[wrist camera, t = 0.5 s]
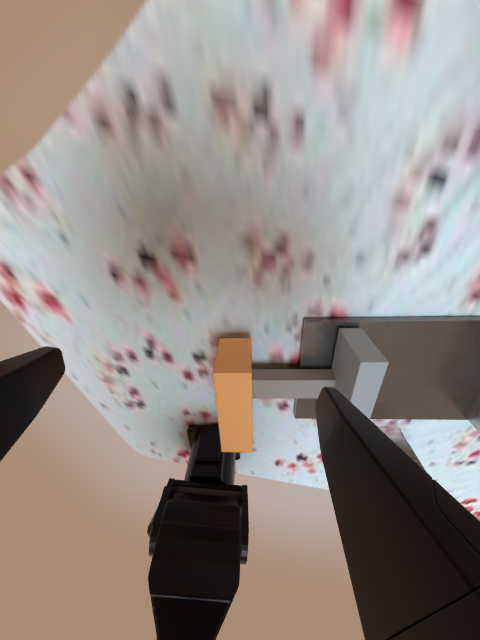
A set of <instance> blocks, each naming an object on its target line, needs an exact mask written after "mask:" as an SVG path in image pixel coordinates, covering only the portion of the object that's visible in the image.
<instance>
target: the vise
mask: <svg viewBox="0 0 480 640" xmlns="http://www.w3.org/2000/svg"><path fill="white" fill-rule="evenodd" d="M339 328H362V329H363V330H364V332H365V333H366V334H367V335H368V337H369V338H370V339H371V340H372V342H373V343H374V344H375V346H376V347H377V348H378V349H379V351H380V352H381V353H382V354H383V356H384V357H385V358H386V359H387V361H388V362H389V364H388V367H387V369H386V372H385V375H384V378H383V381H382V384H381V387H380V390H379V393H378V396H377V399H376V402H375V405H374V408H373V411H372V414H371V417H370V419H444V420H468V421H469V422H470V423H471V424H472V425H473V426H474V427H475V428H476V429H477V430H478V431H479V432H480V316H434V317H347V318H304V322H303V331H302V341H301V350H300V359H299V368H298V369H331V368H332V362H333V357H334V352H335V347H336V342H337V337H338V331H339ZM317 399H318V398H295V405H294V417H295V418H316V411H315V405H316V401H317Z"/></svg>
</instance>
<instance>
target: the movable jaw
mask: <svg viewBox="0 0 480 640" xmlns="http://www.w3.org/2000/svg"><path fill="white" fill-rule="evenodd" d="M388 364H389V362H388V361H387V359H386V358H385V357H384V356H383V354H382V353H381V352H380V351H379V349H378V348H377V347H376V346H375V344H374V343H373V342H372V340H371V339H370V338H369V337H368V335H367V334H366V333H365V332H364V330H363V329H362V328H339V331H338V337H337V342H336V347H335V352H334V357H333V362H332V368H331V369H252V356H251V338H220V340H219V345H218V350H217V355H216V360H215V365H214V370H213V379H214V388H215V397H216V406H217V414H218V423H219V432H220V441H221V450H222V452H253V444H252V398H318V397H319V394H320V392H321V390H322V388H323V387H325V386H327V387H333V388H336V389H337V390H338V391H340V392H341V393H342V394H343V395H344V396H345V397H346V398H347V399H348V400H349V401H350V402H351V403H352V404H354V405H355V406H356V407H357V408H358V409H359V410H360V411H361V412H362V413H363V414H364V415H365V416H366V417H367V418H369V419H370V417H371V414H372V411H373V408H374V405H375V402H376V399H377V396H378V393H379V390H380V387H381V384H382V381H383V378H384V375H385V372H386V369H387V367H388Z"/></svg>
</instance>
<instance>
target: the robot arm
mask: <svg viewBox="0 0 480 640" xmlns="http://www.w3.org/2000/svg"><path fill="white" fill-rule="evenodd" d="M64 372H65V364H64V360H63V356H62V352H61V350H60V349H59V348H55V347H47V346H46V347H42V348H39V349H36V350H33V351H30V352H27V353H24V354H22V355H18V356H15V357H13V358H10V359H7V360H3V361H1V362H0V461H1V460H2V459H3V458H4V456H5V455H6V454H7V452H8V451H9V450H10V449H11V447H12V446H13V445H14V444H15V442H16V441H17V440H18V439H19V437H20V436H21V434H23V432H24V431H25V430H26V429H27V427H28V426H29V425H30V423H31V422H32V421H33V420H34V418H35V417H36V416H37V414H38V413H39V411H40V410H41V408H42V407H43V405H44V404H45V402H46V401H47V399H48V398H49V396H50V394H51V393H52V391H53V390H54V388H55V387H56V385H57V384H58V382H59V381H60V379H61V377H62V376H63V374H64ZM315 411H316V419H317V427H318V435H319V443H320V450H321V455H322V460H323V464H324V468H325V473H326V477H327V481H328V485H329V489H330V493H331V498H332V502H333V506H334V510H335V514H336V519H337V523H338V527H339V532H340V536H341V540H342V544H343V548H344V553H345V557H346V561H347V565H348V569H349V574H350V578H351V582H352V586H353V591H354V595H355V599H356V603H357V607H358V612H359V616H360V620H361V624H362V628H363V633H364V637H365V640H480V521H479V520H478V519H477V518H476V517H475V516H474V515H472V514H471V513H470V512H469V511H468V510H467V509H466V508H465V507H464V506H462V505H461V504H460V503H459V502H458V501H457V500H456V499H455V498H454V497H453V496H451V495H450V494H449V493H448V492H447V491H446V490H445V489H444V488H443V487H442V486H441V485H440V484H439V483H437V482H436V481H435V480H432V477H431V476H430V475H429V474H428V473H427V472H426V471H424V470H423V469H422V468H421V467H420V466H419V465H418V464H417V463H416V462H415V461H414V460H413V459H412V458H410V457H409V456H408V455H407V454H406V453H405V452H404V451H403V450H402V449H401V448H400V447H399V446H398V445H396V444H395V443H394V442H393V441H392V440H391V439H390V438H389V437H388V436H387V435H386V434H385V433H384V432H383V431H381V430H380V429H379V428H378V427H377V426H376V425H375V424H374V423H373V422H372V421H371V420H370V419H369V418H367V417H366V416H365V415H364V414H363V413H362V412H361V411H360V410H359V409H358V408H357V407H356V406H355V405H354V404H352V403H351V402H350V401H349V400H348V399H347V398H346V397H345V396H344V395H343V394H342V393H341V392H340V391H338V390H337V389H336V388H333V387H327V386H325V387H323V388H322V390H321V392H320V394H319V397H318V399H317V401H316V405H315ZM187 432H188V437H189V442H190V447H191V453H190V457H189V462H188V466H187V471H186V475H185V480H175V479H172V478H170V479H169V481H168V484H167V486H165V487H164V490H163V494H162V497H161V500H160V503H159V506H158V508H157V510H156V512H155V514H154V516H153V518H152V520H151V522H150V524H149V526H148V530H147V533H148V535H149V538H150V542H149V543H150V545H149V556H153V557H152V562H151V566H150V571H149V576H148V581H149V590H150V596H151V601H152V607H153V614H154V621H155V626H156V633H157V640H216V637H217V635H218V633H219V630H220V628H221V626H222V624H223V621H224V619H225V617H226V614H227V612H228V609H229V607H230V605H231V603H232V601H233V598H234V596H235V594H236V592H237V589H238V586H239V576H240V564H246V562H247V553H248V533H249V531H248V530H249V527H248V524H249V523H248V495H247V494H248V493H247V485H242V486H239V485H234V476H235V460H238V459H240V452H222V450H221V441H220V432H219V426H188V429H187Z"/></svg>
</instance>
